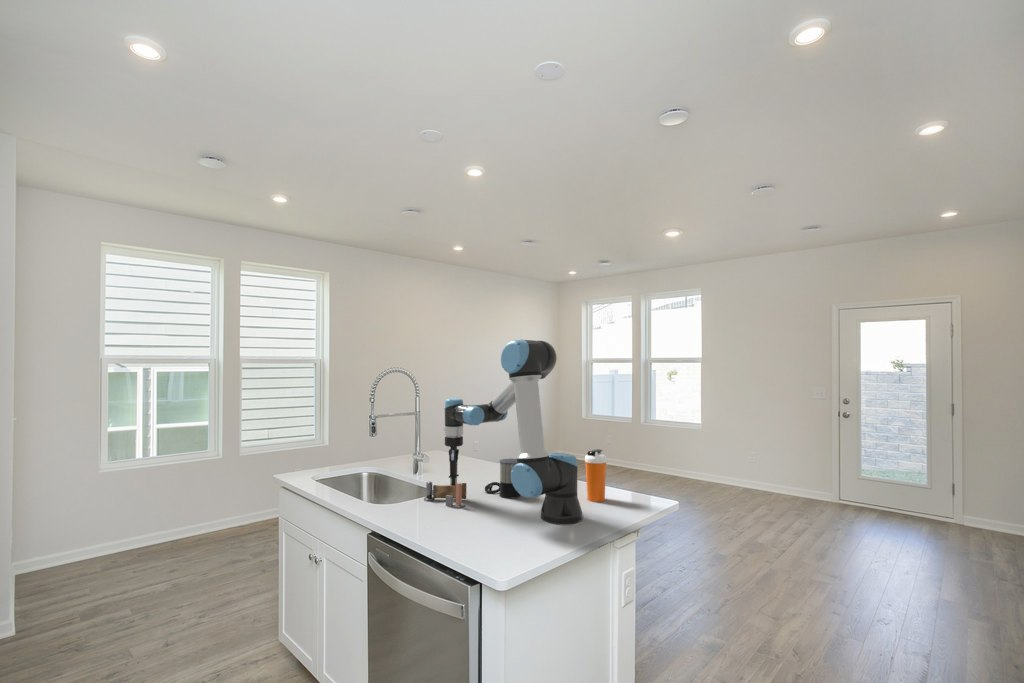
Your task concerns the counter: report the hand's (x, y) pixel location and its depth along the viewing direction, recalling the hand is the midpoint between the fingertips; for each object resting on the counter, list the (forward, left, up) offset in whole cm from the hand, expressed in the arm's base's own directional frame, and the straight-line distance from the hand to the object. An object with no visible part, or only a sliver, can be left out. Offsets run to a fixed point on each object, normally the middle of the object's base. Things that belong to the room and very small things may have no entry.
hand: (453, 492), depth 206 cm
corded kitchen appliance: (-12, -18, -3) cm, 21 cm away
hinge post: (+7, +7, -2) cm, 10 cm away
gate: (0, +3, -2) cm, 3 cm away
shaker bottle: (-48, -34, -3) cm, 59 cm away
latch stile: (-8, +8, -2) cm, 11 cm away
